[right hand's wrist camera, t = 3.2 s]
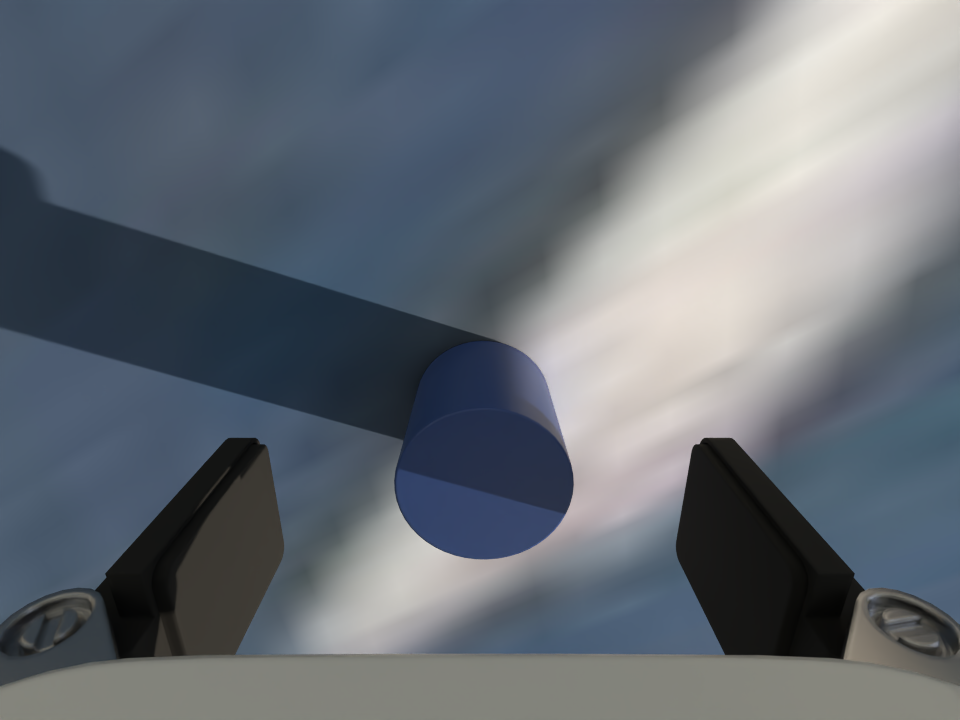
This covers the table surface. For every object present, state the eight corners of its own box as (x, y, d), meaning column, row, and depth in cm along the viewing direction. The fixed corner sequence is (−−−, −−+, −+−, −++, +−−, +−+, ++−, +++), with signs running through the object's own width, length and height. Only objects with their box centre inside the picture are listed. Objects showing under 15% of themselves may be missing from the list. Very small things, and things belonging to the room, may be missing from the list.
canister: (388, 395, 16) (356, 479, 12) (492, 312, 15) (497, 371, 11) (474, 482, 17) (472, 587, 13) (575, 410, 16) (609, 498, 12)
